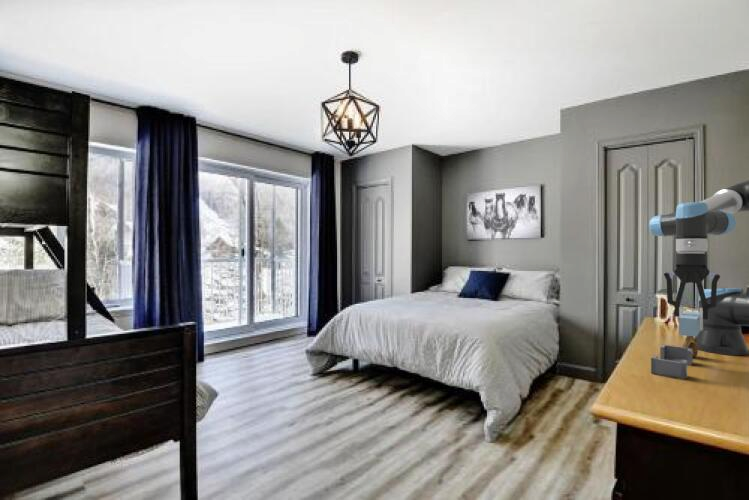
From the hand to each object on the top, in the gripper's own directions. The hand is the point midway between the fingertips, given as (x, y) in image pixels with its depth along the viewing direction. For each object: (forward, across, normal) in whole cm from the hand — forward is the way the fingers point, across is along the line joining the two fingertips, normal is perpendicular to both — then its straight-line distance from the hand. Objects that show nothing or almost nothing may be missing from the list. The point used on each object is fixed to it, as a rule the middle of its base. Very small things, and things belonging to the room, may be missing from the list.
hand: (690, 328), depth 117 cm
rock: (+13, -1, +20) cm, 24 cm away
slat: (+1, 0, 0) cm, 1 cm away
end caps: (+13, -4, 0) cm, 14 cm away
